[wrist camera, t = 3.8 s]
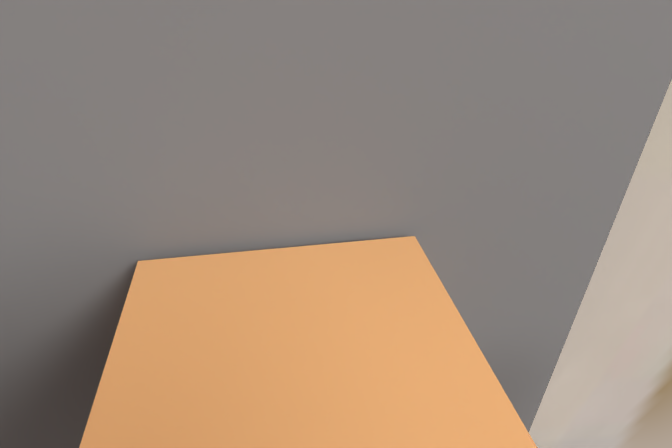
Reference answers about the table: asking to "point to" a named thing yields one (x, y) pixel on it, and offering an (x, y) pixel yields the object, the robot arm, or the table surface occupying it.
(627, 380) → the table surface
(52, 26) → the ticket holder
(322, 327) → the peach cube cap
